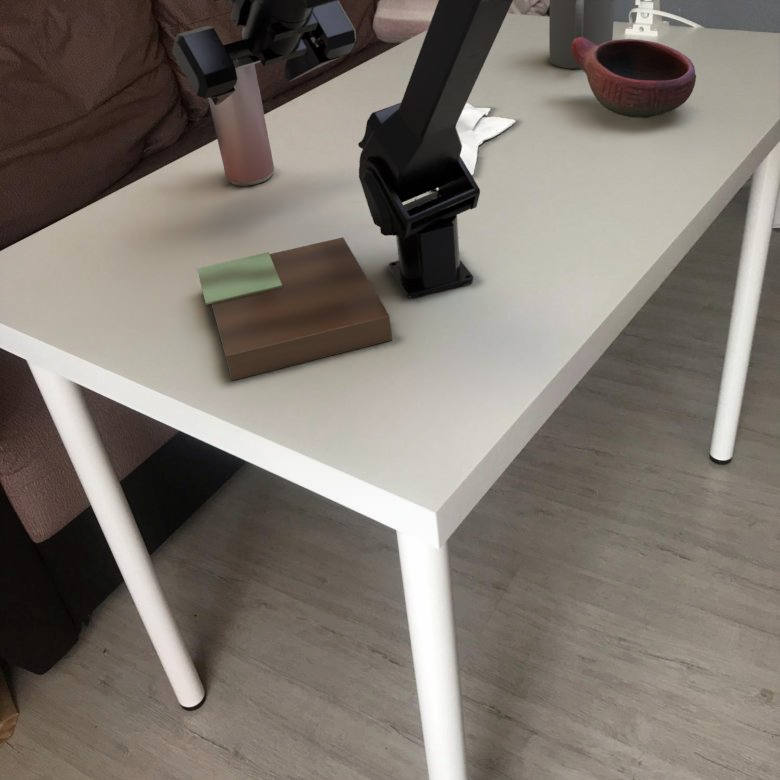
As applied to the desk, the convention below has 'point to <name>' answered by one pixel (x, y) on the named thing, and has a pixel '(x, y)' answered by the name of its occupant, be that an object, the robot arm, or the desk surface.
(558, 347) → the desk surface
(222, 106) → the beverage can
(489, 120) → the cloth
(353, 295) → the brown wooden board
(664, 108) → the bowl
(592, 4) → the mug
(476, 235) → the desk surface
